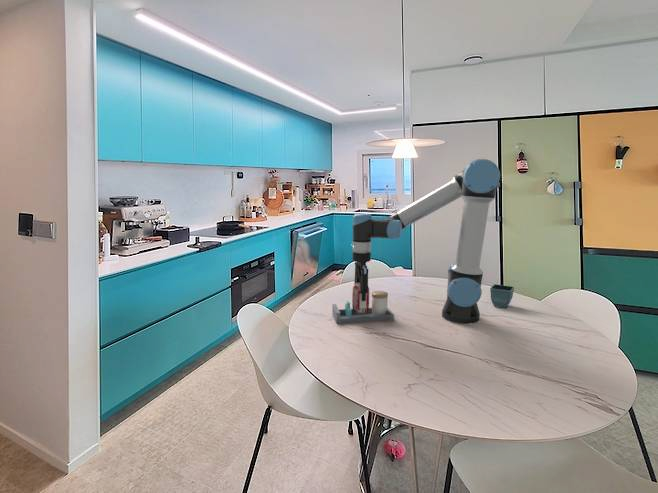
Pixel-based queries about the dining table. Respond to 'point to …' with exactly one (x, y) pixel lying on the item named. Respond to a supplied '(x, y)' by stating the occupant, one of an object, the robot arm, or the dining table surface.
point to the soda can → (357, 300)
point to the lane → (359, 316)
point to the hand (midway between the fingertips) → (360, 304)
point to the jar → (379, 303)
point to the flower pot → (501, 295)
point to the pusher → (348, 309)
